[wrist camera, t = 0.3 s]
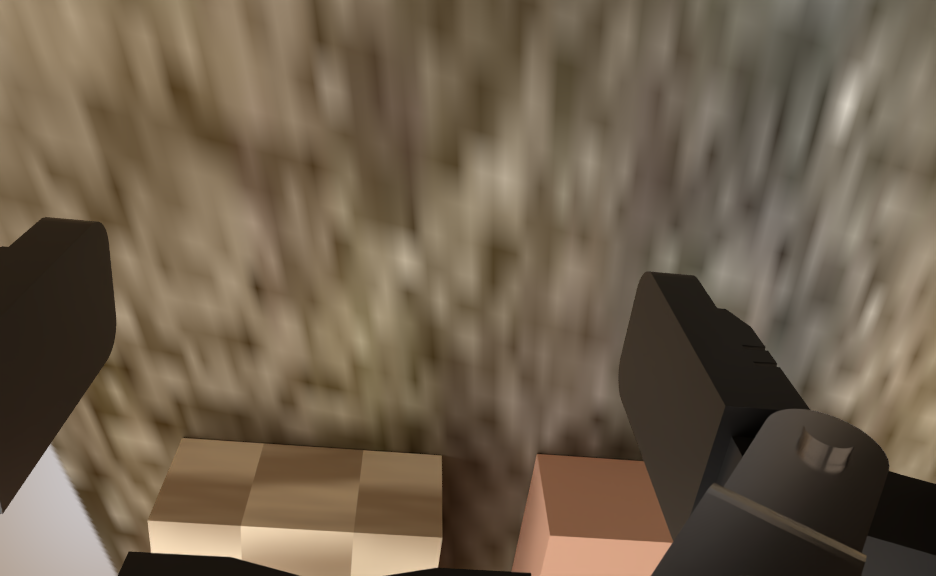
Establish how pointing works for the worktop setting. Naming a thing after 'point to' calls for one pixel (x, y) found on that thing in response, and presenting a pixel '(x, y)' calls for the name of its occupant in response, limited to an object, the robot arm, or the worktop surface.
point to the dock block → (591, 519)
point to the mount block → (301, 508)
